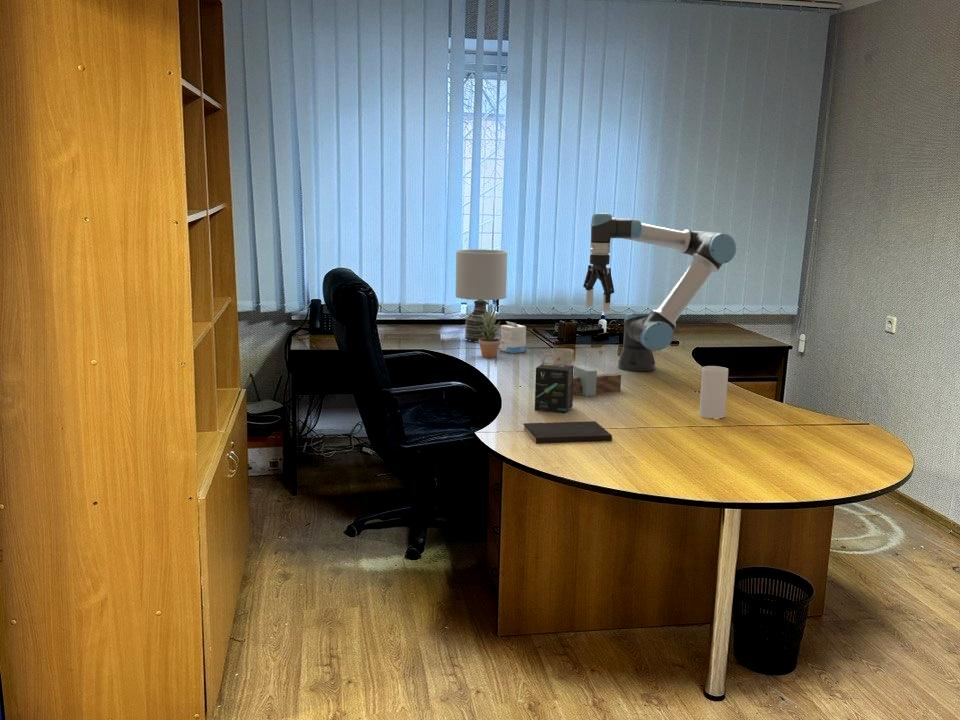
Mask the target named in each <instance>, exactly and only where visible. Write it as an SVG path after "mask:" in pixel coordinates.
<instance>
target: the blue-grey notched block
mask: <svg viewBox="0 0 960 720" xmlns="http://www.w3.org/2000/svg"><path fill="white" fill-rule="evenodd" d="M573 366H574V367H573V376H577V377H580V385H581V386H583V389H582V394H581V395H583V396H585V397H591V396H595V397H596V395H597V393H596V380H597V375H598V370H595V368H591V367H589V366H587V365H582V364H581V365H573Z"/></svg>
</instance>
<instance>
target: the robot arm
mask: <svg viewBox="0 0 960 720" xmlns="http://www.w3.org/2000/svg"><path fill="white" fill-rule="evenodd" d="M611 239H624V240H629V241H633V242H639V243H643V244H647V245H654V246H659V247H663V248H668V249H672V250H673V249H674V250H677V251H678V252H679V253H681V254H684V255H689V256H692V257H693V259H692V261H691V263H690V264H689V266H688V267H687V269H686V270H685V271H684V272H683V274H682V275H681V277H680V278H679V279H678V280H677V281H676V283H675V284H674V286H673V288H672V289H671V290H670V292H669V293H668V294H667V296H666V297H665V298H664V300H663V301H662V302H661V304H660V305H659V306H658V308H656V309H651V311H649V312H627V313H626V314H625V315H624V320H623V323H624V325H623V347H622V351H621V354H620V356H619V360H618V363H617V367H618V368H619V369H621V370H625V371H632V372H651V371H654V370H655V369H656V361H655V357H654V354H653V351H661V350H664V349H666V348H668V347H669V345H670V344H671V342H672V341H673V338H674V336H673V335H674V331H675V329H676V328H677V323H676V321H677V320H678V319H679V317H681V315H682V314H683V312H684V311H685V309H687V307H688V305H689V304H690V302H691V301H692V300H693V299H694V297H695V296H696V294H697V293H698V291H699V290H700V289H701V287H703V285H704V283H706V281H707V280H708V279H709V277H710V275H711V274H712V273H716V272H718V271H719V270H720V268H721V267H722V266H723V264H727V263H729V262H731V261H732V260H733V259H734V257H735V256H736V252H737V246H736V245H737V244H736V241H735V240H734V238H733V236H731V235H730V234H728V233H725V232H722V231H711V230H709V231H708V230H691V229H684V230H683V231H682V230H679V229H678V230H677V229H673V228H667V227H663V226H657V225H653V224H648V223H644V222H641V220H640V219H638V218H625V217H615V216H613V215H612V213H609V212H594V213H593V214H592V216H591V223H590V245H589V248H590V255H589V264H588V265H587V271H586V275H585V277H584V278H585V279H584V282H583V287H582V288H583V289H584V288H585V291H586V293H585V307H586V308H589V307H590V308H593V306H594V305H593V304H594V287H595V284H596V282H597V280H599V281H600V284H601V287H602V289H603V294H602V295H603V296H602V312H603V313H604V312H611V295H612V294H615V288H614V283H613V278H612V268H611V267H607V265H609V264H610V261H611V259H610V258H611V257H610V256H611V255H610V253H611Z"/></svg>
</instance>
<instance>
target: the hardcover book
mask: <svg viewBox="0 0 960 720" xmlns="http://www.w3.org/2000/svg"><path fill="white" fill-rule="evenodd" d="M522 425H523V426H524V427H523V429H524V431H525V432H526V433H527V434H528V435H529V437H530V438H531V439H532V440H533V441H534V442H535V444H536V445H538V444H540V445H541V444H560V443H561V444H563V443H566V444H567V443H592V442H593V443H595V442H612V441H613V435H612V433H610V432H608V430H606V429H605V428H604V427H603V426H601V425H600V424H599V422H597V421H595V420H594V421H592V420H591V421H590V420H589V421H559V422H553V421H552V422H526V423H523V424H522Z"/></svg>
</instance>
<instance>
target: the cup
mask: <svg viewBox="0 0 960 720" xmlns="http://www.w3.org/2000/svg"><path fill="white" fill-rule="evenodd" d="M701 370H702V371H701V381H700V382H701V385H700V396H699V397H700V398H699V413H698V416H699V415H700V416H702V417H701V418H703V417H706V418H705V419H707V418H723V417H726V407H727V394H728V380H729V368H727V367H723V366H719V365H718V366H717V365H707V366H706V365H705V366H702V369H701ZM700 416H699V417H700ZM723 419H724V418H723Z"/></svg>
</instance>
